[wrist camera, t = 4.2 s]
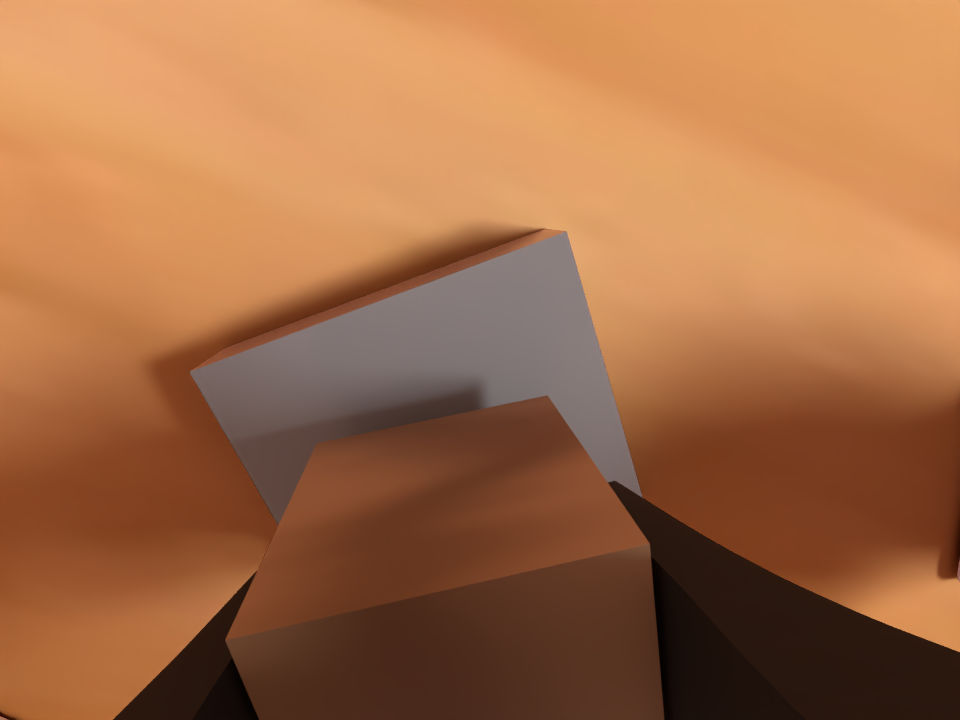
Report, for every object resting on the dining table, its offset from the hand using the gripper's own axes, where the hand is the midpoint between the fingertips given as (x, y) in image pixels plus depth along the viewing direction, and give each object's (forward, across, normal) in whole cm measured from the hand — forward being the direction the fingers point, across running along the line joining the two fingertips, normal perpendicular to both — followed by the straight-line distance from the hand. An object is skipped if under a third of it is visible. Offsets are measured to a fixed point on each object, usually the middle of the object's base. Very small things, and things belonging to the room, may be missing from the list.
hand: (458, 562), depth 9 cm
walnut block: (+2, 0, 0) cm, 2 cm away
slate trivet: (+6, 0, 0) cm, 6 cm away
